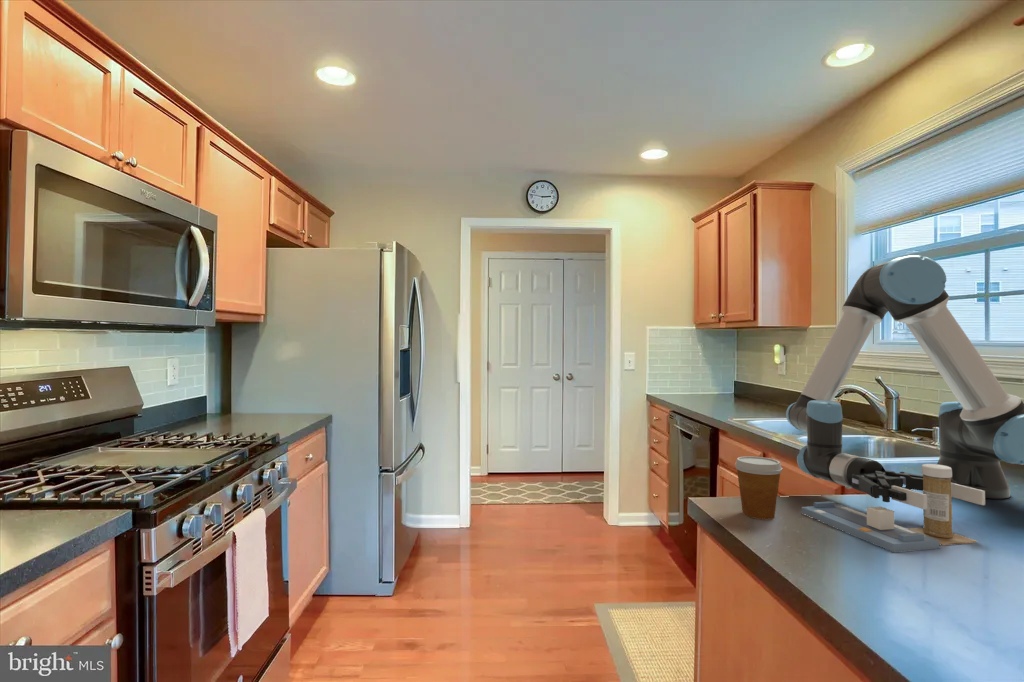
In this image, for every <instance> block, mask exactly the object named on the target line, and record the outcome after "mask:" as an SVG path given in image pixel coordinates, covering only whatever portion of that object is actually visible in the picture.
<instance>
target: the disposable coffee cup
mask: <svg viewBox="0 0 1024 682" xmlns="http://www.w3.org/2000/svg"><path fill="white" fill-rule="evenodd" d="M734 466H735V469H736V473H737V480H738V486H739V494H740V501H741V510H742V514H743V515H744V516H746V517H749V518H752V519H757V520H772V519H774V518H775V515H776V508H777V500H778V494H779V487H780V486H779V485H780V478H781V473H782V472H783V466H782V465H781V461H779V460H777V459H773V458H770V457H763V456H740V457H739V456H738V457H737V458H736V462H735V463H734Z"/></svg>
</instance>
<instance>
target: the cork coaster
mask: <svg viewBox="0 0 1024 682" xmlns="http://www.w3.org/2000/svg"><path fill="white" fill-rule="evenodd" d="M908 529H909V530H912V531H915V532H918V533H921V534H924V535H926V536H929V537H932V538H934V539H937V540H939V546H951V545H954V544H955V545H963V544H966V545H967V544H975V543H976V544H977V543H978V541H977V540H975V539H973V538H969V537H966V536H964V535H960V534H958V533H955V532H952V533H953V537H951V538H941V537H935V536H931V535H928V534H926V533H925V532H924V531H923V529H924V526H923V527H911V528H908Z"/></svg>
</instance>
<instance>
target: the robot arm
mask: <svg viewBox="0 0 1024 682" xmlns="http://www.w3.org/2000/svg"><path fill="white" fill-rule="evenodd" d="M946 282H947V275H946V272H945V270H944V269H943V266H941V265H940V263H938V262H937V261H936V260H934V259H932V258H929V257H927V256H924V255H923V256H922V255H916V254H915V255H914V254H913V255H912V254H911V255H905V256H904V255H903V256H900V257H896V258H894V259H890V260H888V261H885V262H883V263H882V262H881V263H878V264H875V265H874V266H870V267H869V268H868V269H866V271H865V270H864V272H863V273H861V275H860V276H859V278H857V280H856V282H855V284H854V286H853V287H852V289H851V290H850V291H849V294H848V296H847V298H846V299H845V302H844V304H843V305H842V307H841V310H842V312H843V314H842V316H841V318H840V320H839V322H838V324H837V326H836V328H835V329H834V331H833V333H832V335H831V337H830V339H829V341H828V342H827V345H826V347H825V348H824V350H823V352H822V354H821V356H820V357H819V359H818V361H817V364H816V365H815V367H814V369H813V371H812V372H811V374H810V376H809V378H808V380H807V382H806V384H805V386H804V387H803V389H802V391H801V392H800V395H799V397H798V398H797V400H796V402H793V403H791V404H790V405H789V406H788V407H787V409H786V411H785V418H786V420H787V422H788V424H790V425H791V426H792V427H794V428H795V429H796V430H799V431H802V432H805V433H806V438H807V439H806V440H807V441H806V445H805V446H803V447H801V448H800V449H799V450H798V454H797V455H796V462H797V466H798V467H799V469H800V470H801V471H802V472H803V473H805V474H807V475H810V476H812V477H814V478H816V479H820V480H824V481H827V482H831V483H835V484H837V485H841V486H845V489H846V490H850V489H854V490H856V491H859V492H862V493H866V494H867V495H868V496H871V498H874V499H879V498H880V497H881V499H882V501H881V502H884V503H891V500H893V501H896V502H899V503H902V504H906V505H908V506H912V507H915V508H919V509H921V510H923V509H927V494H923V476H922V475H923V474H922V475H921V474H914V473H910V472H905V471H899V472H895V471H894V470H886V469H885V468H884V466H883V465H882V463H880V462H879V461H877V460H874V459H870V458H866V457H861V456H858V455H854V454H850V453H845V452H843V418H844V415H843V408H842V405H841V403H840V402H838V401H835V400H834V399H835V397H836V396H837V394H838V392H839V390H840V389H841V386H842V385H843V383H844V382H845V379H846V377H847V376H848V373H849V372H850V370H851V369H852V367H853V365H854V363H855V361H856V359H857V357H858V355H859V354H860V352H861V350H862V348H863V346H864V345H865V343H866V341H867V339H868V338H869V336H870V334H871V331H872V330H873V328H874V326H875V325H876V324H880V323H881V322H882V321H883V319H884V317H885V315H886V314H887V313H889V314H890V316H891V317H892V319H893V320H894V321H895V322H899V323H903V324H905V325H906V326H907V328H908V329H909V330H910V332H911V333H912V335H913V337H914V338H915V340H916V341H917V342H918V344H919V346H920V347H921V348H922V350H923V351H924V353H925V354H926V356H927V357H928V359H929V360H930V361H931V363H932V364H933V366H934V368H935V369H936V370H937V372H938V373H939V374H940V376H941V378H942V379H943V381H944V382H945V383H946V385H947V386H948V387H949V390H950V391H951V392H952V394H953V396H954V397H955V398H956V400H957V401H945V402H942V403H941V404H940V405H939V411H938V415H937V416H938V427H939V428H938V429H939V430H938V433H939V434H938V435H939V437H938V438H939V459H938V461H937V463H936V464H938V465H944V466H948V467H951V468H952V477H951V498H954V499H958V500H962V501H964V502H970V503H973V504H976V505H980V506H986V499H1008V498H1010V497H1011V488H1010V485H1009V483H1008V480H1007V478H1006V476H1005V473H1004V471H1003V468H1002V466H1001V462H1000V461H1003V462H1005V463H1008V464H1013V465H1015V464H1016V465H1024V401H1023V400H1022V399H1021V398H1020V396H1018V395H1015V394H1010V393H1007V392H1006V390H1005V388H1004V387H1003V386H1002V385H1001V383H1000V382H999V380H998V379H997V377H996V376H995V375H994V373H993V372H992V370H991V369H990V367H989V366H988V365H987V363H986V361H985V360H984V358H983V357H982V355H981V354H980V352H979V351H978V349H976V347H975V346H974V344H973V343H972V341H971V339H969V337H968V335H967V334H966V333H965V331H964V330H963V328H962V327H961V325H960V324H959V323H958V321H957V320H956V319H955V317H954V315H953V314H952V312H951V311H950V310H949V308H948V307H947V305H948V302H949V299H950V296H949V294H948V293H947V291H946V290H945V288H946ZM918 491H921V492H918ZM890 498H891V500H890Z"/></svg>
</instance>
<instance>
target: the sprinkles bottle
mask: <svg viewBox="0 0 1024 682" xmlns="http://www.w3.org/2000/svg"><path fill="white" fill-rule="evenodd" d="M921 474H922V476H923V491H922V493H923V494H927V509H922V515H923V527H924V529H923V531H924V532H925V533H926V534H928V535H931V536H935V537H941V538H951V537H953V533H954V532H953V504H952V497H951V477H952V468H951V467H948V466H944V465H938V464H937V463H936V464H935V463H922V465H921Z"/></svg>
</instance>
